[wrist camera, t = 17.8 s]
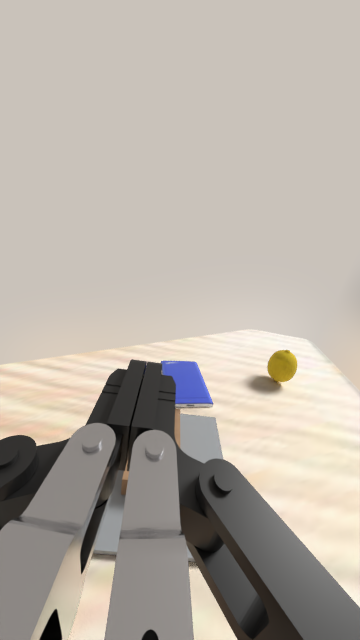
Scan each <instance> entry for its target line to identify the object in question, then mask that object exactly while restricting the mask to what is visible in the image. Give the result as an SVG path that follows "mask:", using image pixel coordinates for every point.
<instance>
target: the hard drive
mask: <svg viewBox="0 0 360 640" xmlns="http://www.w3.org/2000/svg"><path fill="white" fill-rule="evenodd" d="M161 364H162V375H169V376H172V377H173V379H174V381H175V383H176V401H175V407H212V406H213V402H212V399H211V397H210V395H209V392H208V390H207V387H206V385H205V382H204V380H203V377H202V375H201V373H200V370H199V368H198V365H197V363H196V362H190V361H161Z"/></svg>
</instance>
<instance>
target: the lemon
mask: <svg viewBox="0 0 360 640" xmlns="http://www.w3.org/2000/svg"><path fill="white" fill-rule="evenodd" d="M296 370H297V360H296V358H295V356H294V355H293V354H292V353H291V352H290V351H289V350H280V351H277V352H275V353H274V354H273V355H272V356H271V358H270V360H269V362H268V373H269V375H270V376H271V377H272V378H273V379H274V380H275V381H276V382H285V381H288V380H290V379H291V378H292V377H293V376H294V374H295V372H296Z"/></svg>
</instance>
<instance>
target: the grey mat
mask: <svg viewBox="0 0 360 640" xmlns="http://www.w3.org/2000/svg"><path fill="white" fill-rule="evenodd" d="M180 449H181V450H182V451H183V452H184V453H185V454H187V455H188V456H190V457H192V458H194V459H196V460H198V461H200V462H202V463H205V462H207V461H208V460H211V459H215V458H217V459H223V456H222V450H221V445H220V440H219V434H218V429H217V424H216V419H215V418H213V417H205V416H196V415H188V414H180ZM123 473H124V471H122V470H118V474H117V477H116V481H115V485H114V488H113V491H112V496H111V499H110V502H109V505H108V508H107V511H106V515H105V518H104V521H103V524H102V527H101V530H100V533H99V536H98V539H97V542H96V545H95V548H94V551H93V553H95V554H106V555H117V549H118V543H119V536H120V531H121V525H122V518H123V511H124V504H125V497H126V495H122V494H121V486H122V477H123ZM187 554H188V561H190V562H195V560H194V558H193V557H192V555H191V553H190V551H189V549H188V547H187Z"/></svg>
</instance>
